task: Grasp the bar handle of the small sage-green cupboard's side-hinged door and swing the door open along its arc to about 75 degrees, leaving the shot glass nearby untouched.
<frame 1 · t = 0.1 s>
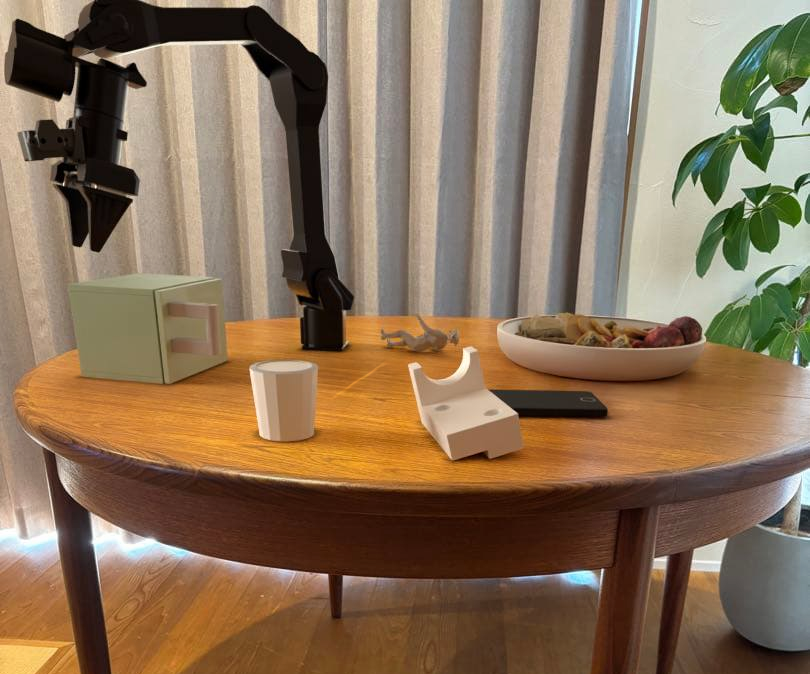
hand: (85, 249, 97), 15 cm above the table, tool pointing down, fingers open, 9 cm apart
bracket: (461, 441, 79), on the table
bowl: (594, 364, 115), on the table
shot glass: (287, 435, 79), on the table
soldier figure: (418, 352, 121), on the table
cell phone: (523, 407, 91), on the table
cupboard: (155, 368, 105), on the table
cupboard door: (216, 330, 101), point 6 cm above the table, hinge at 0.0°
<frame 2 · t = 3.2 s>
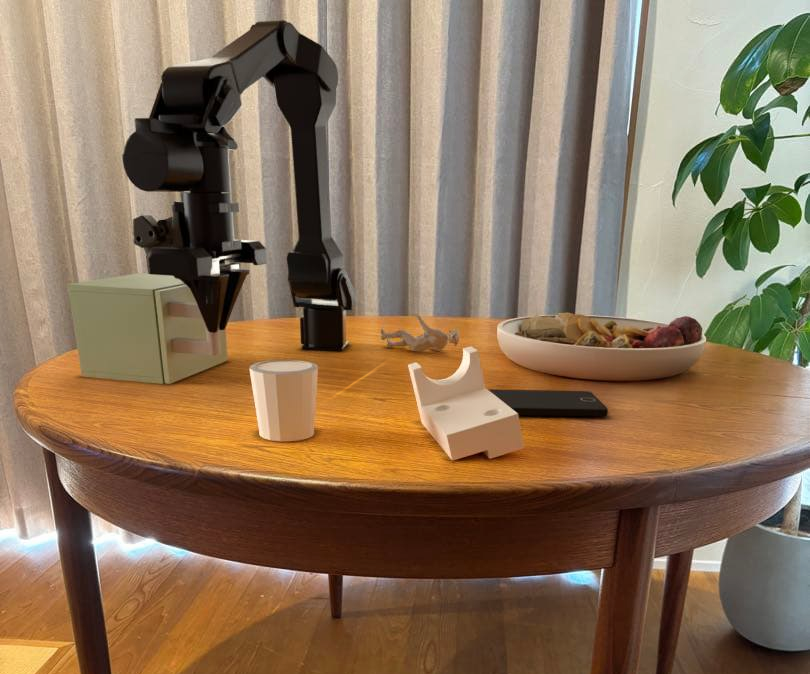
hand: (216, 331, 94), 7 cm above the table, tool pointing down, fingers closed on cupboard door, 2 cm apart
cupboard door: (216, 330, 101), point 6 cm above the table, hinge at 0.0°, touching gripper
everything else where it was.
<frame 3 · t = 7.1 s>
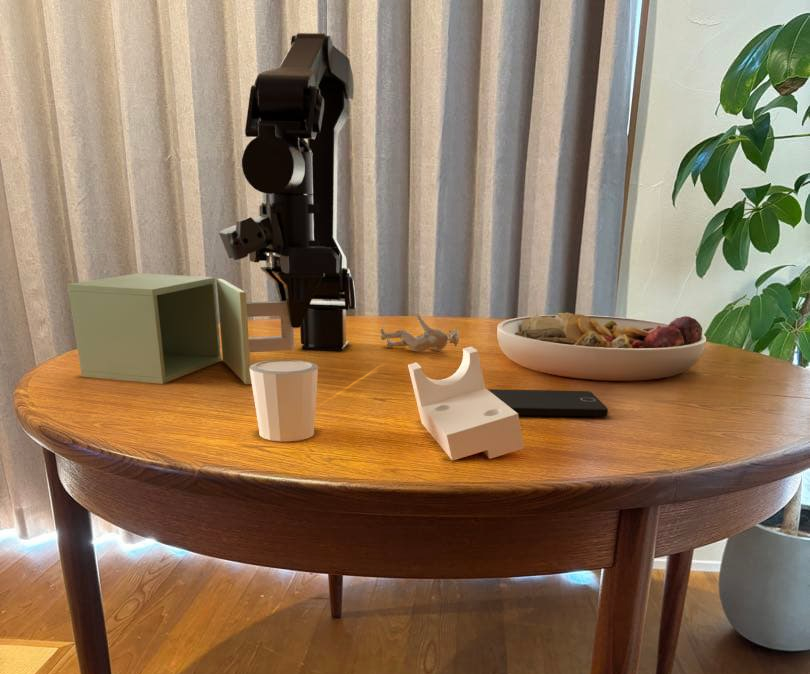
hand: (293, 326, 99), 7 cm above the table, tool pointing down, fingers closed on cupboard door, 2 cm apart
cupboard door: (256, 328, 103), point 6 cm above the table, hinge at 38.2°, touching gripper
everything else where it was.
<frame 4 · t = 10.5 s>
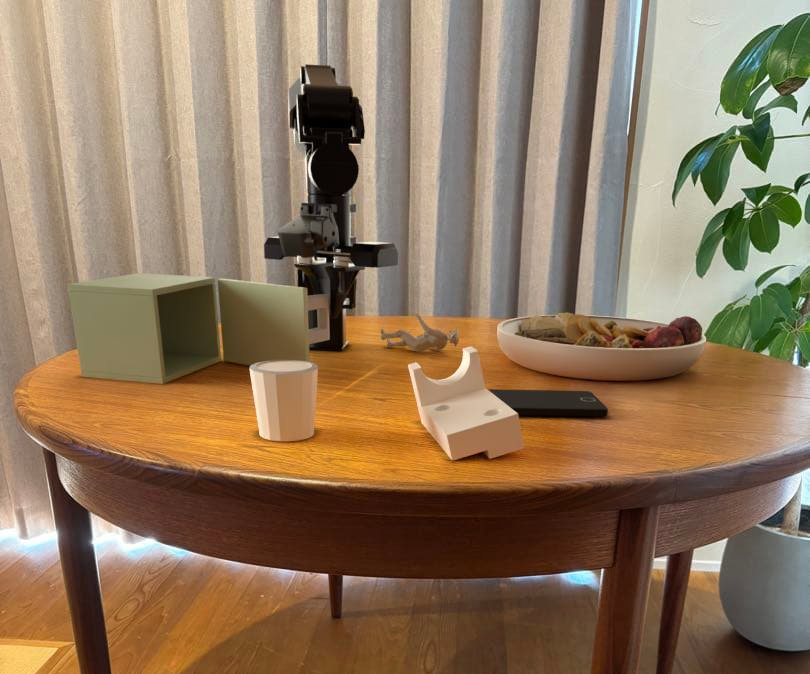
hand: (330, 317, 107), 7 cm above the table, tool pointing down, fingers closed, pressing on cupboard door
cupboard door: (278, 323, 107), point 6 cm above the table, hinge at 71.8°, touching gripper
everything else where it was.
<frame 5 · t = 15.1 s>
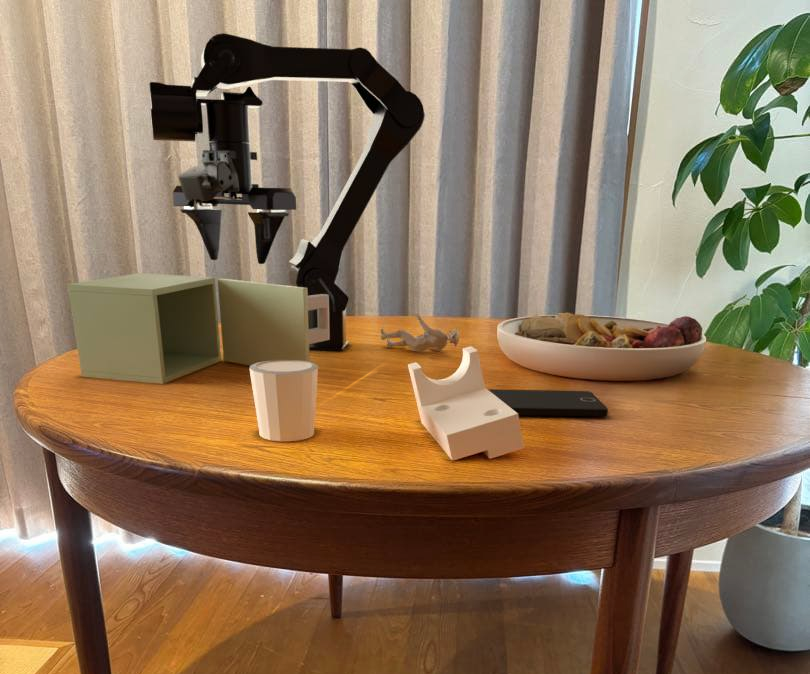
hand: (237, 261, 113), 13 cm above the table, tool pointing down, fingers open, 9 cm apart
cupboard door: (278, 323, 107), point 6 cm above the table, hinge at 71.8°
everything else where it was.
at the end: cupboard door at +72° (first picture: +0°); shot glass moved 0.2 cm from its start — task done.
